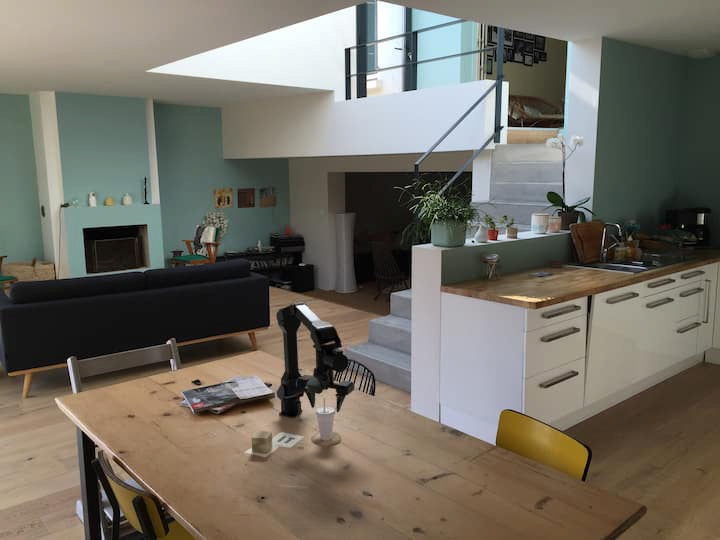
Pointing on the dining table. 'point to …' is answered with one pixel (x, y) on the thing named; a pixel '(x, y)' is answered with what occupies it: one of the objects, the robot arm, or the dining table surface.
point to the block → (261, 442)
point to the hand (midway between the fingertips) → (325, 409)
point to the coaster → (334, 440)
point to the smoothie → (325, 421)
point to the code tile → (286, 439)
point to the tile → (263, 453)
